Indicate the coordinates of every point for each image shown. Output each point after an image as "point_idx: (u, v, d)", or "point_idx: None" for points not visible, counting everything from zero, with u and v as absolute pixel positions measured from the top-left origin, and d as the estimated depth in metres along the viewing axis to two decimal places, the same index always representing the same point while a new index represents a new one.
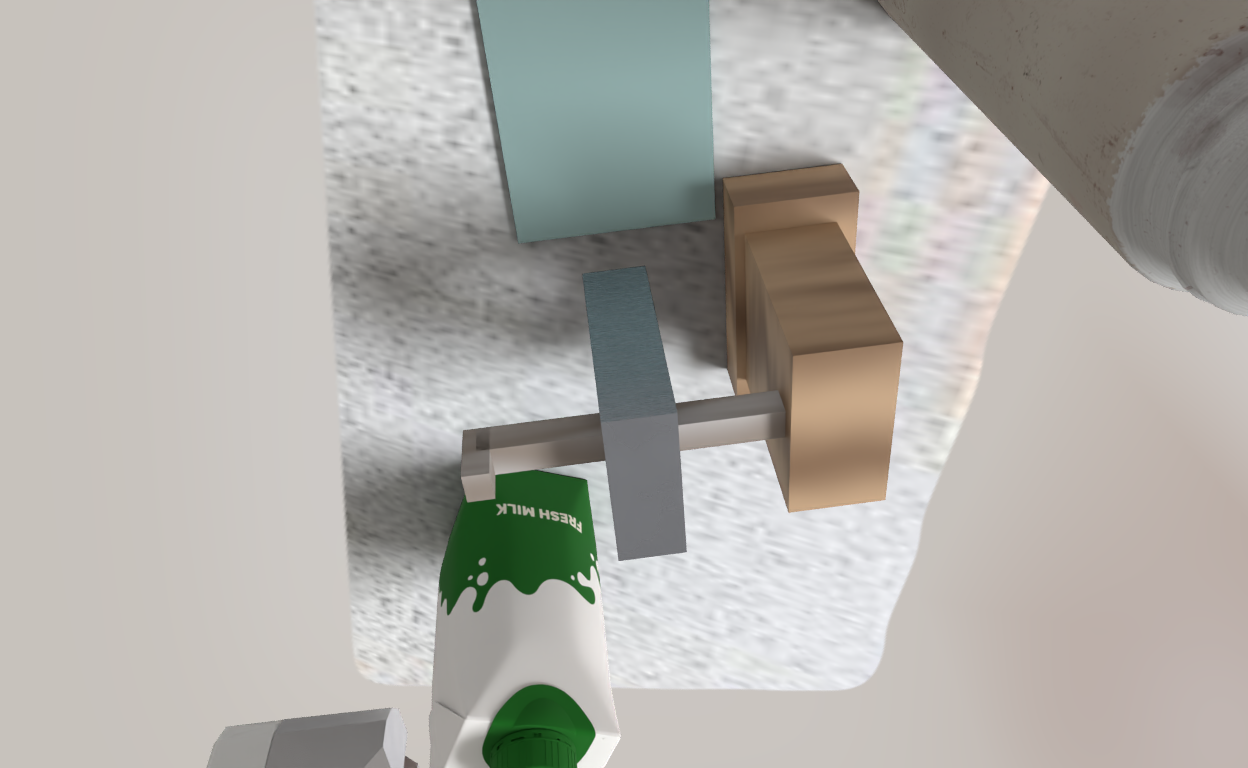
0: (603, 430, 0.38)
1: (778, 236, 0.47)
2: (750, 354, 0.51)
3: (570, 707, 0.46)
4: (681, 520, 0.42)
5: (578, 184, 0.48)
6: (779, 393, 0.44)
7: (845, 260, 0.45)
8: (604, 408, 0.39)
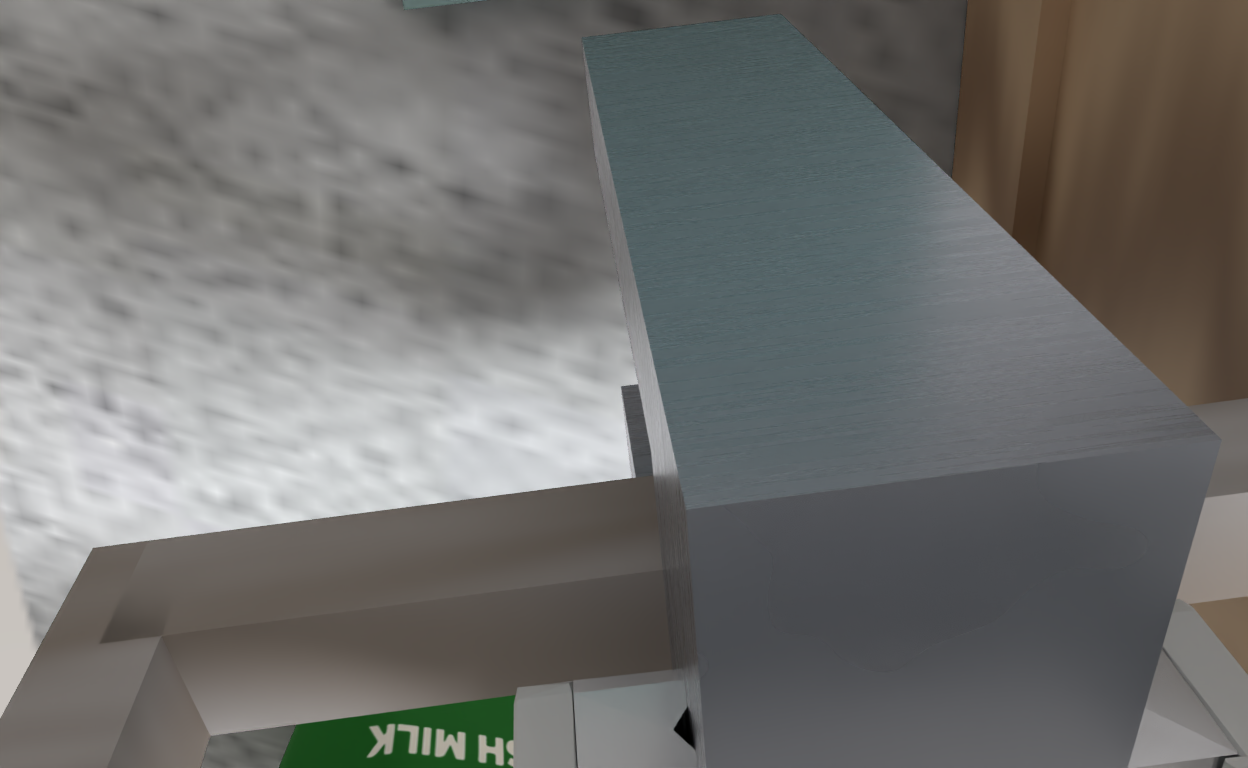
0: (706, 562, 0.06)
1: None
2: None
3: None
4: None
5: None
6: None
7: None
8: (704, 419, 0.06)
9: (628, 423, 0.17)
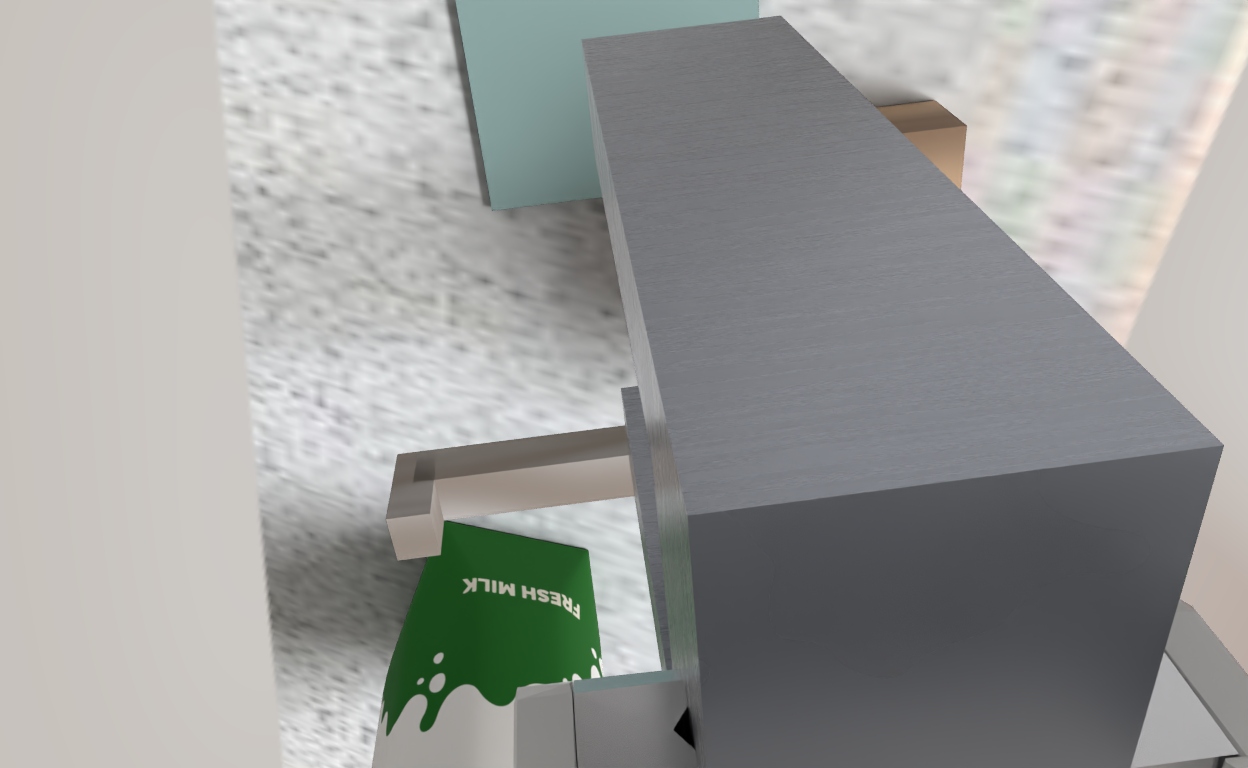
0: (708, 568, 0.06)
1: None
2: None
3: None
4: None
5: (573, 124, 0.35)
6: None
7: None
8: (705, 424, 0.06)
9: (628, 425, 0.17)
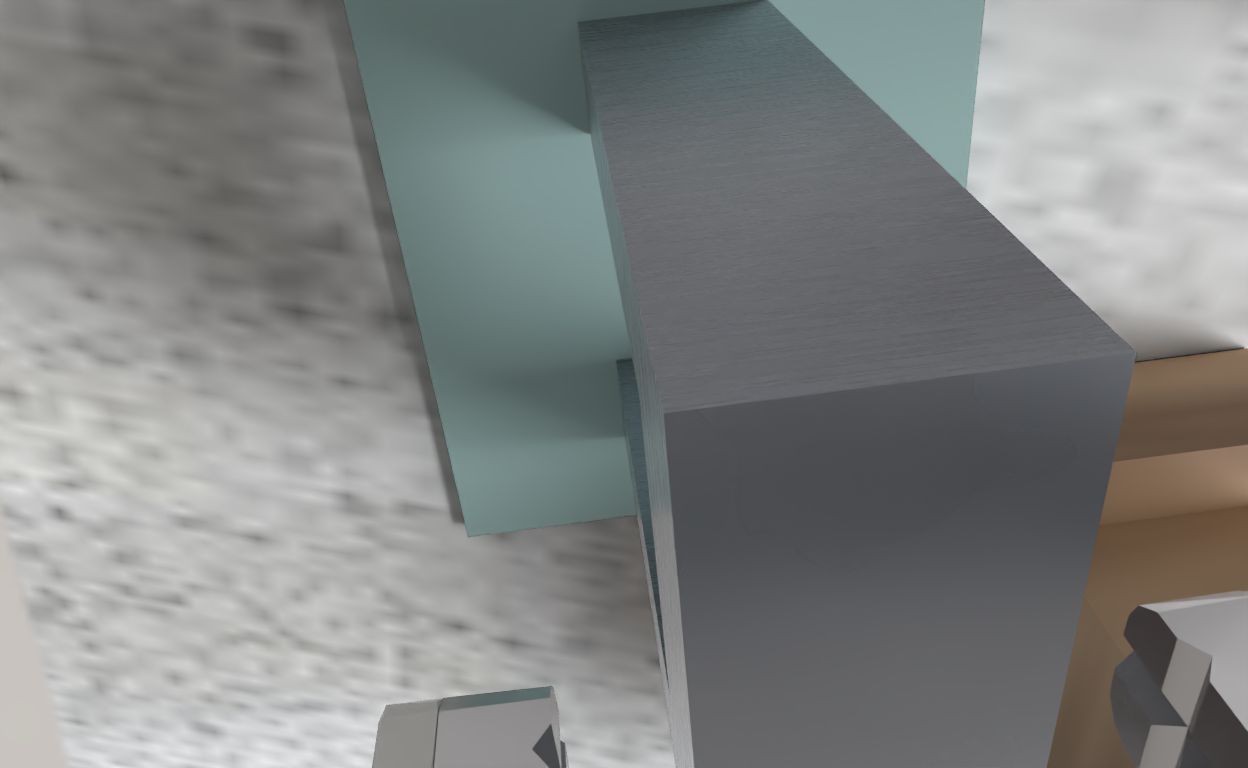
0: (681, 464, 0.06)
1: (1137, 546, 0.18)
2: None
3: None
4: None
5: (614, 405, 0.19)
6: None
7: None
8: (681, 342, 0.07)
9: (622, 394, 0.18)
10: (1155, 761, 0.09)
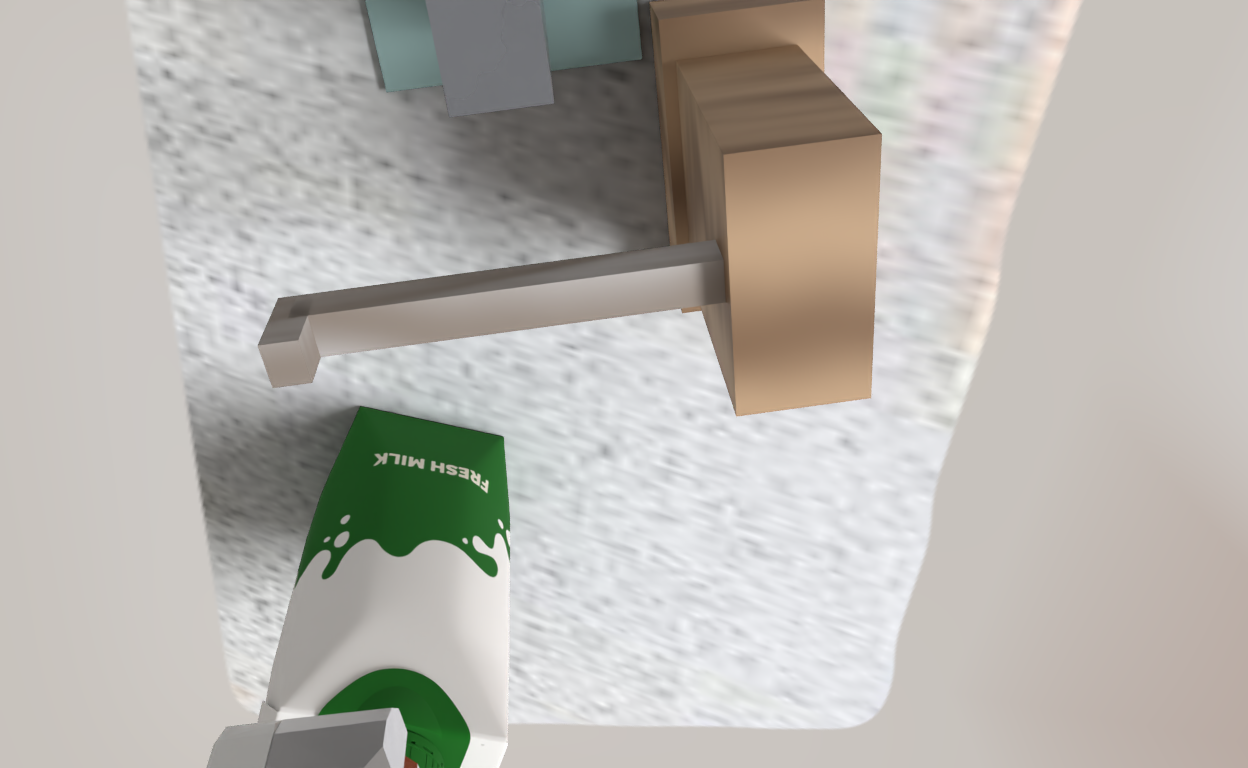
0: None
1: (719, 59, 0.35)
2: (692, 234, 0.38)
3: (437, 700, 0.33)
4: (539, 31, 0.27)
5: None
6: (716, 241, 0.31)
7: (805, 72, 0.33)
8: None
9: None
10: None
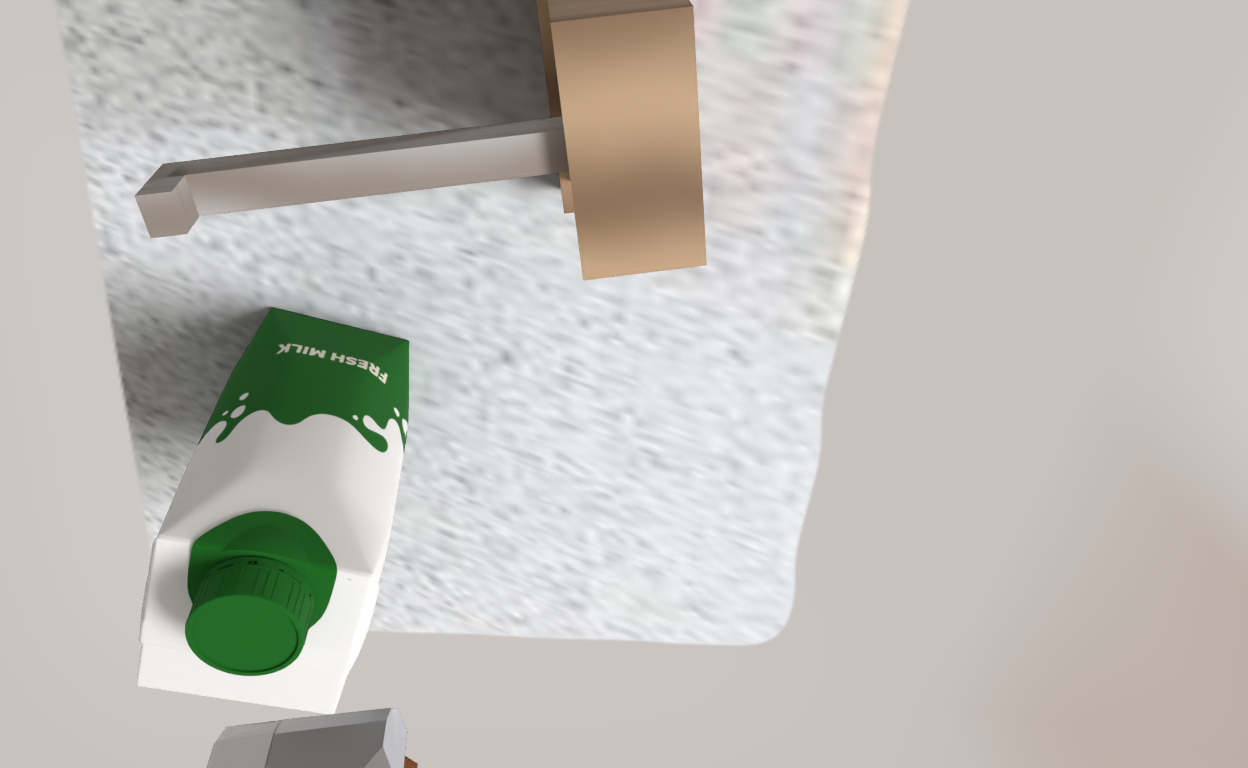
0: None
1: None
2: None
3: (309, 539, 0.36)
4: None
5: None
6: (562, 117, 0.35)
7: None
8: None
9: None
10: None
